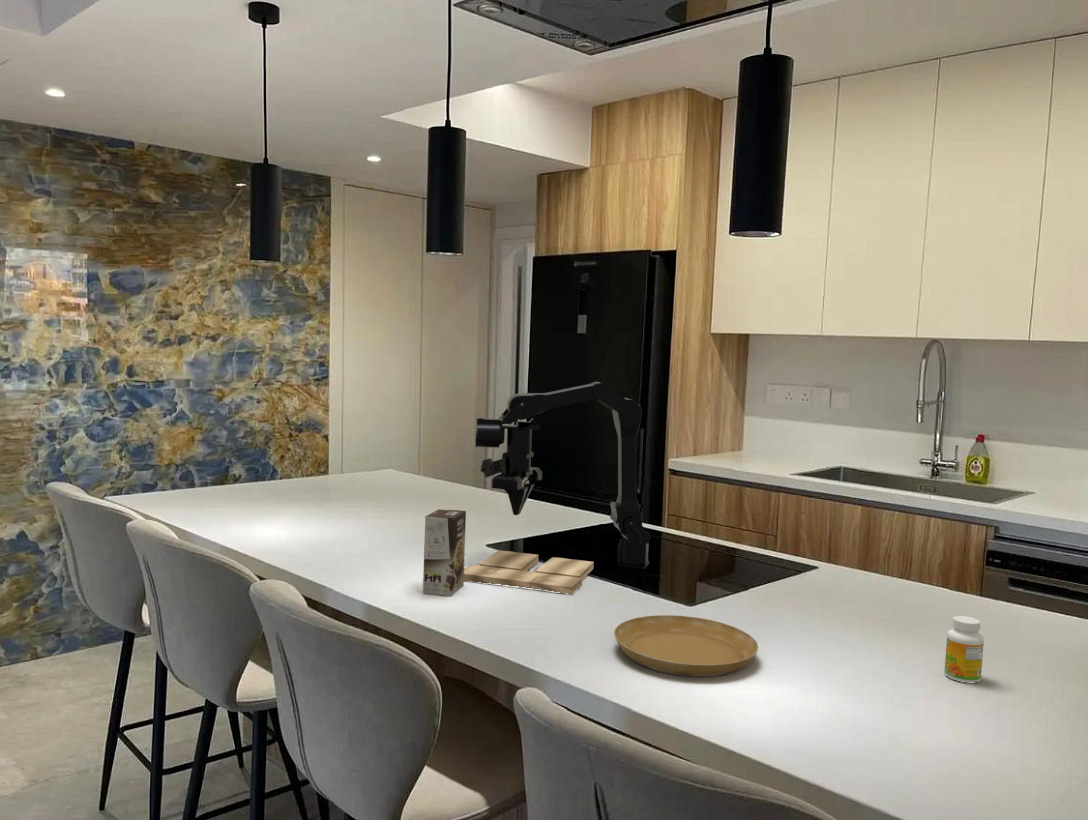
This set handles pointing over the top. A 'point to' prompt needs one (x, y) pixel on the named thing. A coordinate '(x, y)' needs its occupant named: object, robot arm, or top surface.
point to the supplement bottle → (964, 650)
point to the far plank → (511, 560)
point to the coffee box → (444, 552)
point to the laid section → (522, 579)
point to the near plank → (566, 567)
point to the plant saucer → (685, 645)
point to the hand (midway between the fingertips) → (516, 514)
